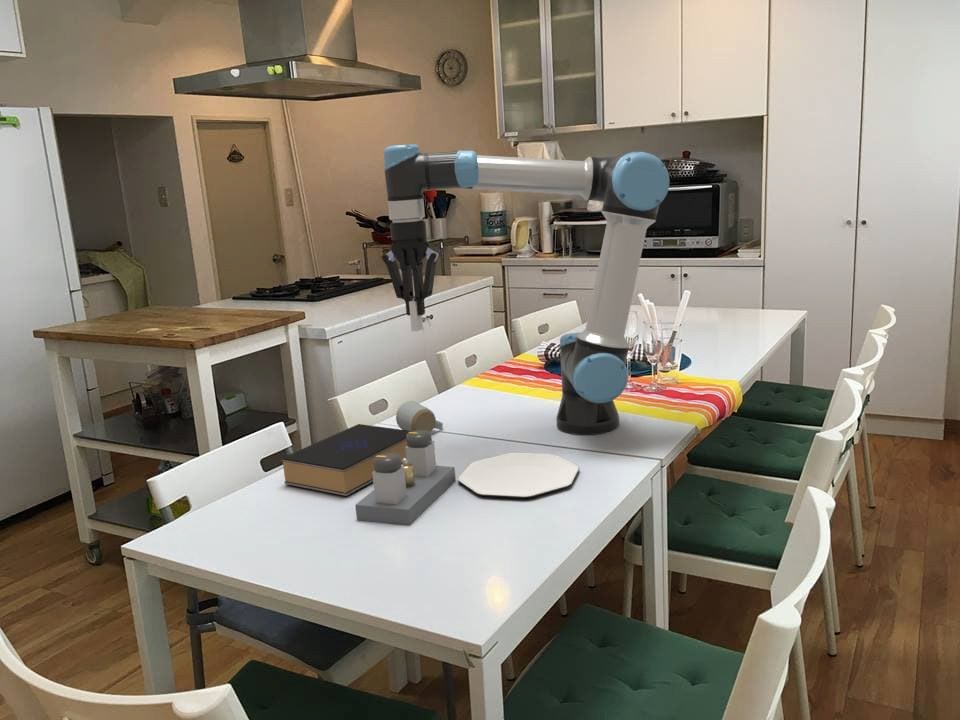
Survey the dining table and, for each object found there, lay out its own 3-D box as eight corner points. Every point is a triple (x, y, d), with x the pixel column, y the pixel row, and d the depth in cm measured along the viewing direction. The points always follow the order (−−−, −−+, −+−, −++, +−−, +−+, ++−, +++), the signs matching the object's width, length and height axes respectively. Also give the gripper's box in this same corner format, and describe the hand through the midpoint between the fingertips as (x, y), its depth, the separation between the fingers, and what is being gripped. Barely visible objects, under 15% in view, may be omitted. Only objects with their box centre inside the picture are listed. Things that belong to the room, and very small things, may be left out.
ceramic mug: (413, 440, 195) (411, 410, 194) (396, 433, 202) (394, 403, 200) (450, 431, 201) (448, 401, 200) (432, 424, 208) (430, 395, 206)
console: (455, 480, 168) (452, 439, 166) (409, 524, 148) (405, 478, 146) (407, 477, 172) (403, 436, 170) (356, 519, 152) (351, 474, 150)
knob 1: (408, 493, 154) (404, 452, 152) (397, 503, 149) (392, 462, 148) (385, 491, 156) (381, 451, 154) (373, 501, 151) (368, 460, 149)
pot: (417, 482, 160) (415, 456, 159) (410, 488, 157) (408, 461, 156) (403, 481, 161) (401, 455, 160) (397, 487, 158) (394, 460, 157)
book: (285, 487, 172) (281, 458, 170) (361, 450, 192) (358, 423, 191) (346, 500, 163) (343, 468, 161) (420, 459, 183) (417, 431, 182)
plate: (496, 512, 151) (496, 504, 151) (442, 475, 172) (442, 469, 172) (599, 483, 162) (599, 476, 161) (537, 452, 182) (537, 445, 182)
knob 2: (438, 467, 167) (434, 429, 165) (428, 476, 162) (424, 437, 160) (416, 466, 168) (412, 428, 167) (405, 474, 164) (402, 436, 162)
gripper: (442, 217, 172) (451, 326, 177) (388, 220, 177) (398, 326, 182) (428, 220, 165) (437, 333, 170) (371, 223, 170) (382, 333, 175)
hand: (417, 329), depth 176 cm, fingers closed
